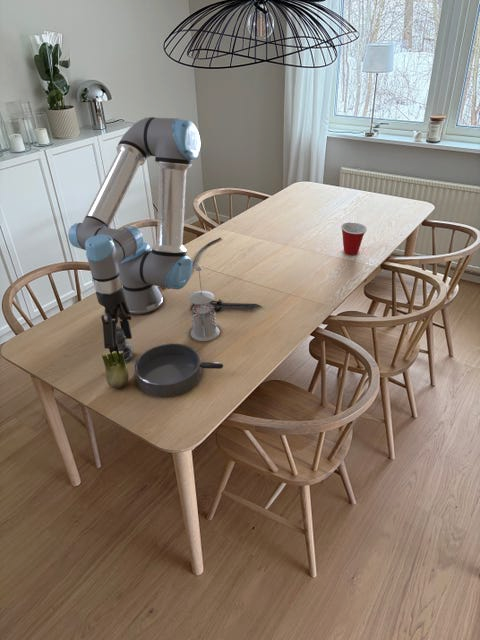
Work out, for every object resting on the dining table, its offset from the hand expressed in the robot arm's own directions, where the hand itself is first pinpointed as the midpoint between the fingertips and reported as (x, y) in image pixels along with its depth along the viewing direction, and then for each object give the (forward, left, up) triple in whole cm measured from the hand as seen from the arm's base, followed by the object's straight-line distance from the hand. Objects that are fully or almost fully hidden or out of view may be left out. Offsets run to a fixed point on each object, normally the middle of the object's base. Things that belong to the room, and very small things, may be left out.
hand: (122, 349), depth 147 cm
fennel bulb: (+13, +2, -3) cm, 14 cm away
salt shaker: (0, 0, -3) cm, 3 cm away
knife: (-30, +30, -3) cm, 43 cm away
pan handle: (+8, +29, 0) cm, 30 cm away
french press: (-13, +24, -3) cm, 27 cm away
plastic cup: (-74, +80, -3) cm, 109 cm away
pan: (+8, +16, -3) cm, 18 cm away
